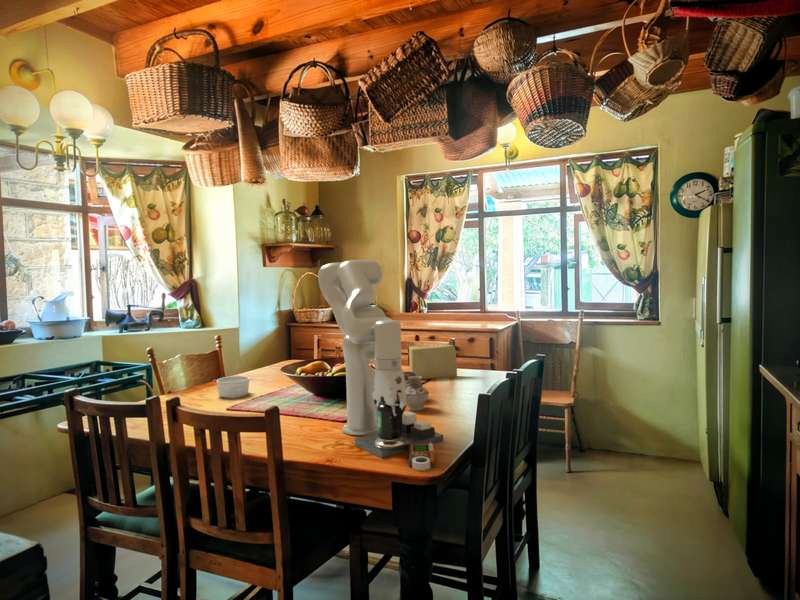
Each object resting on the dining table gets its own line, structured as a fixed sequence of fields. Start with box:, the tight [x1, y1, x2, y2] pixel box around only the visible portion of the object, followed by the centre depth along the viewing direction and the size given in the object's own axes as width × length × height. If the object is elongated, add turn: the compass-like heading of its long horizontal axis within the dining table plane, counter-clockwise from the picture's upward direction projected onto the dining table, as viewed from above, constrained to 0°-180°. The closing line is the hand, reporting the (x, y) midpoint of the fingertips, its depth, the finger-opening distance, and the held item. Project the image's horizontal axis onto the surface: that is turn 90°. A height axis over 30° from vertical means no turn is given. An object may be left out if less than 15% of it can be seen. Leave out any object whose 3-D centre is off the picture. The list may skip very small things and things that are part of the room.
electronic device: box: [408, 442, 436, 471], centre depth 142 cm, size 7×3×15 cm
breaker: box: [402, 411, 417, 425], centre depth 161 cm, size 4×4×4 cm
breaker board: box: [354, 420, 444, 459], centre depth 155 cm, size 14×22×4 cm, turn 126°
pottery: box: [403, 370, 429, 412], centre depth 200 cm, size 11×25×12 cm, turn 10°
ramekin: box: [216, 375, 250, 399], centre depth 221 cm, size 13×13×7 cm
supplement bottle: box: [377, 396, 401, 440], centre depth 150 cm, size 7×7×12 cm
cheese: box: [408, 344, 458, 380], centre depth 249 cm, size 22×10×15 cm, turn 97°
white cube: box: [414, 419, 432, 430], centre depth 156 cm, size 4×4×4 cm
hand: (389, 425), depth 150 cm, fingers closed on supplement bottle, 6 cm apart
